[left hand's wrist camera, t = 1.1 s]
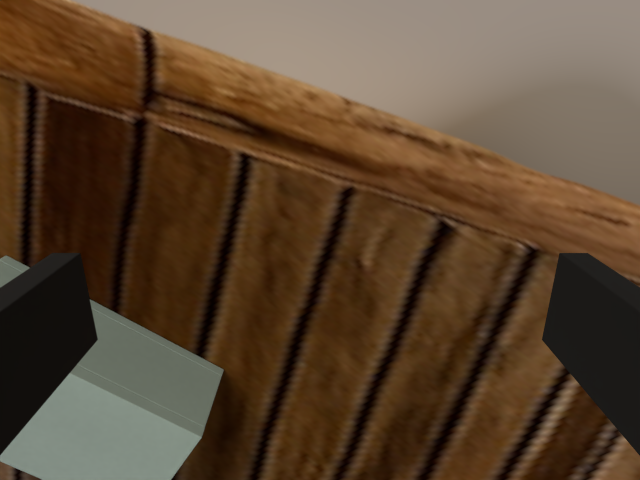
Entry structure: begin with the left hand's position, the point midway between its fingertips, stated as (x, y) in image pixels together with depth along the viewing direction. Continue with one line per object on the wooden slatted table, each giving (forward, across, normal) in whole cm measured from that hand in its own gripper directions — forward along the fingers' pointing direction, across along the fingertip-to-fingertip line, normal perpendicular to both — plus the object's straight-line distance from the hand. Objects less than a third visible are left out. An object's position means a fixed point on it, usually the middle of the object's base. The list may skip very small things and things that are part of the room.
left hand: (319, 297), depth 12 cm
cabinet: (+25, +22, +20) cm, 38 cm away
